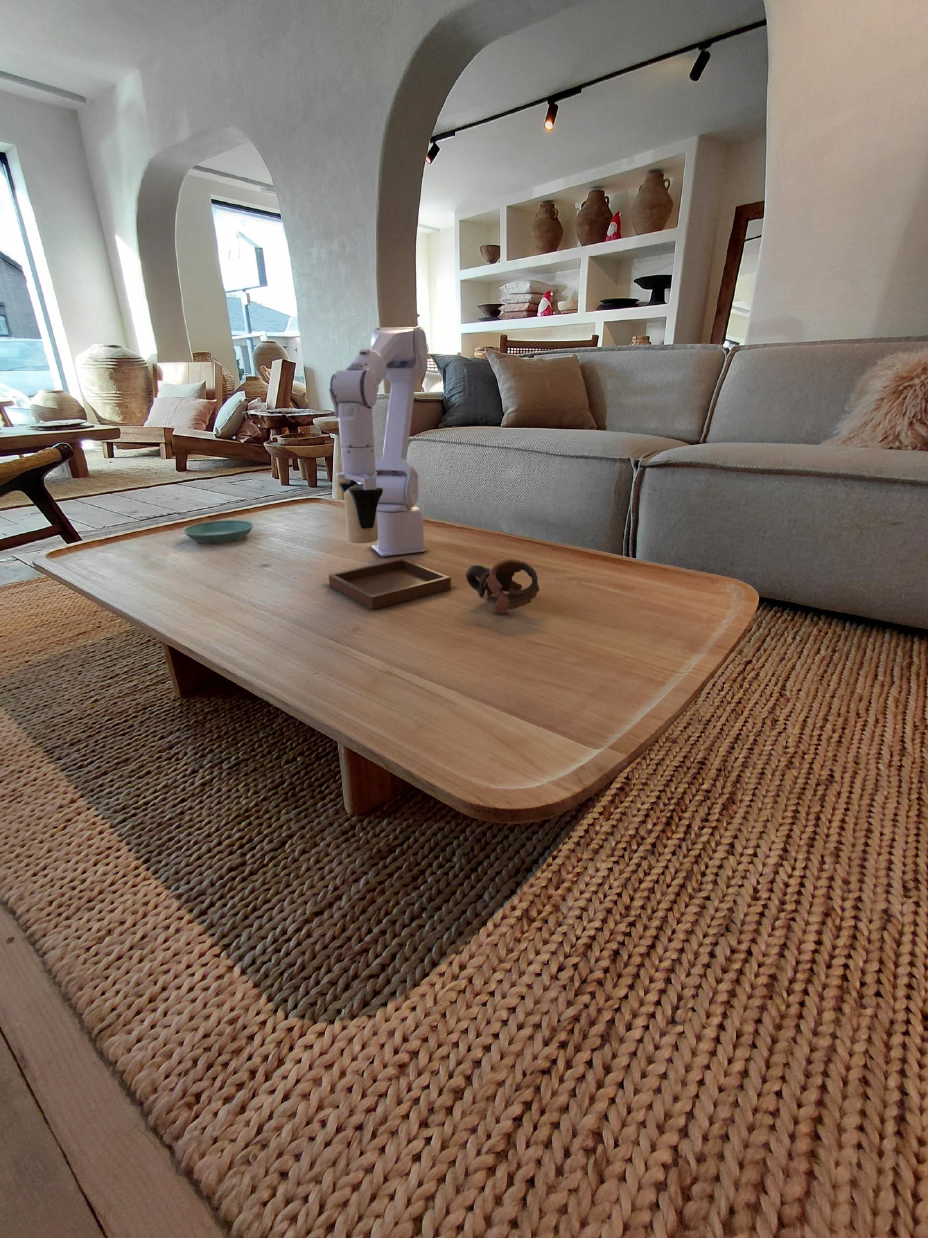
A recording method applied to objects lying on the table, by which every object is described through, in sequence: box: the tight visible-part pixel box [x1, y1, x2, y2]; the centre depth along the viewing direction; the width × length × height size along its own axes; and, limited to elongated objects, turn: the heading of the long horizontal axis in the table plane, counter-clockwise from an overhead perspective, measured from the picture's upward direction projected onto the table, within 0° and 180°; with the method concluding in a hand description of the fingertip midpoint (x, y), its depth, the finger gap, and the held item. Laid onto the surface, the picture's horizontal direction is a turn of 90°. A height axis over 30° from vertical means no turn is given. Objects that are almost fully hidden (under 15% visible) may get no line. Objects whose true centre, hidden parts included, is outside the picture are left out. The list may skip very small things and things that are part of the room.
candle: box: [343, 484, 378, 544], centre depth 103 cm, size 6×6×10 cm
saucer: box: [183, 519, 254, 545], centre depth 131 cm, size 15×15×3 cm
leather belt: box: [465, 558, 540, 615], centre depth 91 cm, size 12×10×8 cm
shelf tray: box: [328, 558, 452, 611], centre depth 100 cm, size 16×15×2 cm
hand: (362, 524), depth 104 cm, fingers closed on candle, 5 cm apart
